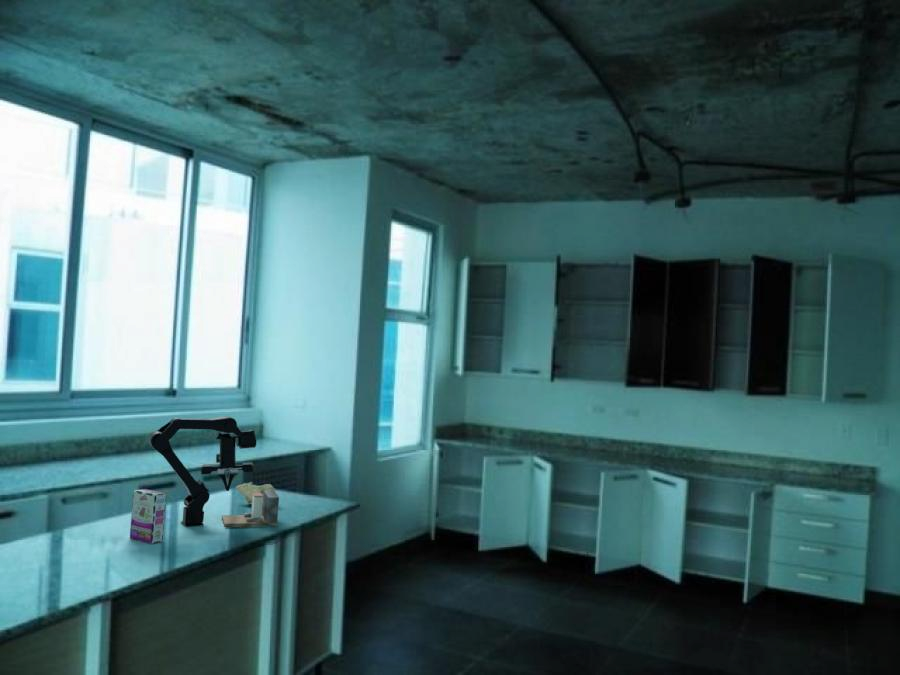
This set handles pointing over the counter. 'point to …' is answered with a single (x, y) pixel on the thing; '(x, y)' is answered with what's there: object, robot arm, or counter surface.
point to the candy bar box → (148, 516)
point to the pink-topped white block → (257, 505)
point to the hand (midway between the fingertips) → (227, 490)
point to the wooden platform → (267, 518)
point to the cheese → (252, 490)
